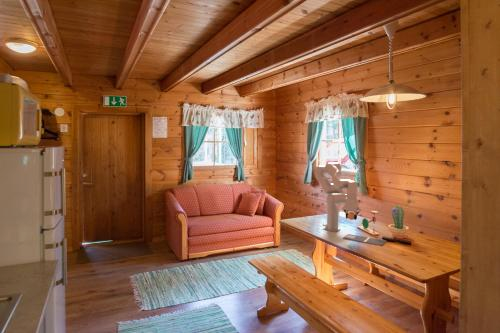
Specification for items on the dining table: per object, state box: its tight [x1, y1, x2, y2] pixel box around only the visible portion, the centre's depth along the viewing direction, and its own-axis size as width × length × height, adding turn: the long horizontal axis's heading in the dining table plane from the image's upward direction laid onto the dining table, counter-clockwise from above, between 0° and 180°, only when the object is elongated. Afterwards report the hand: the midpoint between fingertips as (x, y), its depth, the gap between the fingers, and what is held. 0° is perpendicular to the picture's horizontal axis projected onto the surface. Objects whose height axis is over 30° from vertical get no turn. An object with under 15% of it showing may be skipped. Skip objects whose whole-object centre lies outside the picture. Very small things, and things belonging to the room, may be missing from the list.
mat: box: [342, 233, 387, 247], centre depth 263 cm, size 30×13×1 cm, turn 56°
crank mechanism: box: [356, 210, 380, 237], centre depth 285 cm, size 25×7×19 cm, turn 13°
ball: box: [347, 211, 355, 221], centre depth 267 cm, size 6×6×6 cm
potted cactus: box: [387, 205, 410, 239], centre depth 271 cm, size 16×15×25 cm
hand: (351, 218), depth 267 cm, fingers closed on ball, 5 cm apart
